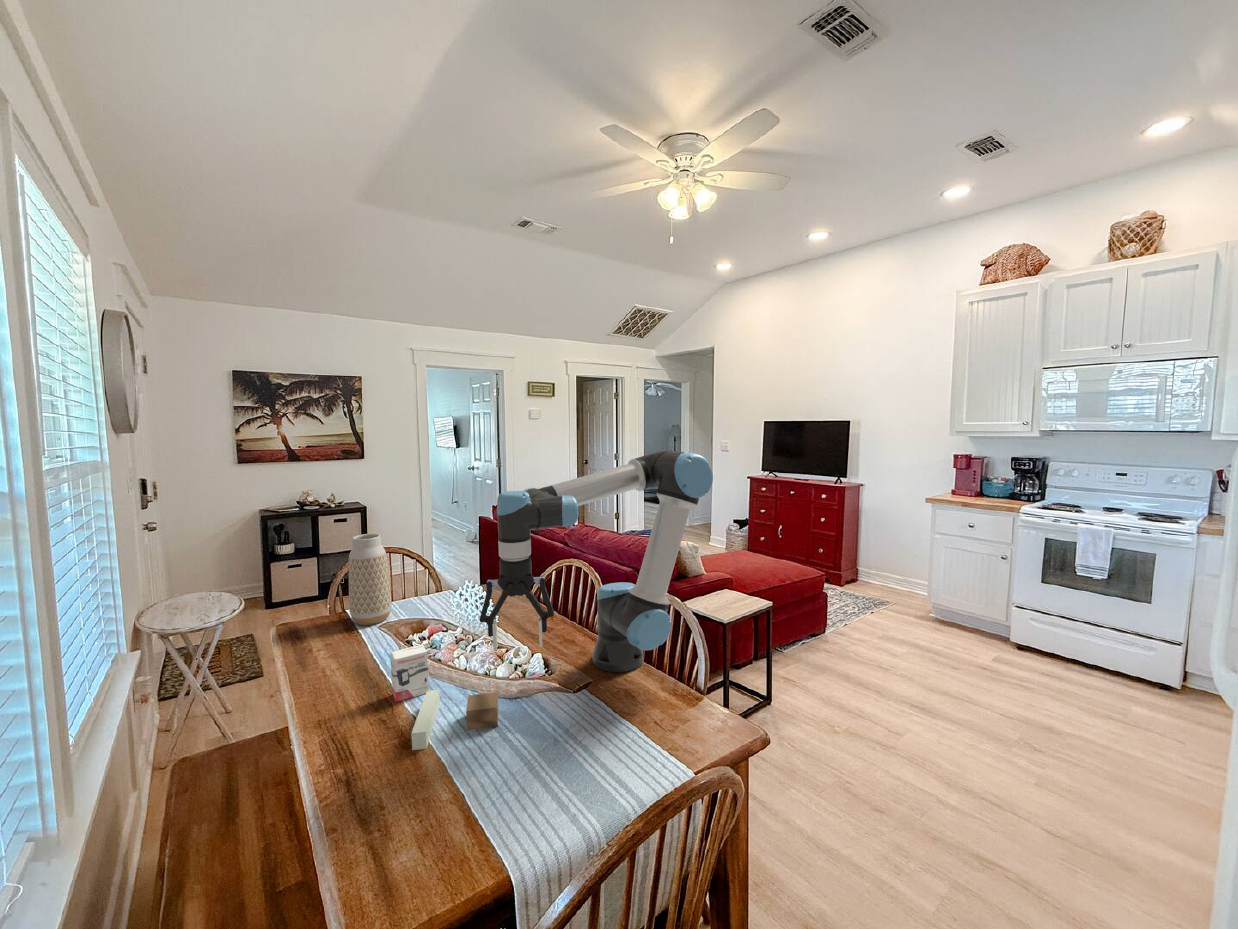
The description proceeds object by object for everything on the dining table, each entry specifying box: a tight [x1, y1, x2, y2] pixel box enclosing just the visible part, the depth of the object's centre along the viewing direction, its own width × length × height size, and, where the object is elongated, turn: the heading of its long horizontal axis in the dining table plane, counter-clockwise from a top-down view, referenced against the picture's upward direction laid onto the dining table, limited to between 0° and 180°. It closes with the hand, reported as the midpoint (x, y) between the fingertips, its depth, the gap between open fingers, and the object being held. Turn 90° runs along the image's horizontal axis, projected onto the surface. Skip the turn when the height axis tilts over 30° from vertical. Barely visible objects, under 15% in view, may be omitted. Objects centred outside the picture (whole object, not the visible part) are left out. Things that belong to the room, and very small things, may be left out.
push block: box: [465, 691, 499, 731], centre depth 129 cm, size 7×7×5 cm
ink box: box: [389, 644, 430, 703], centre depth 141 cm, size 8×5×12 cm, turn 123°
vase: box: [348, 533, 392, 626], centre depth 190 cm, size 14×14×31 cm
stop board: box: [411, 689, 441, 751], centre depth 127 cm, size 3×18×4 cm, turn 9°
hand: (518, 646), depth 129 cm, fingers open, 10 cm apart
